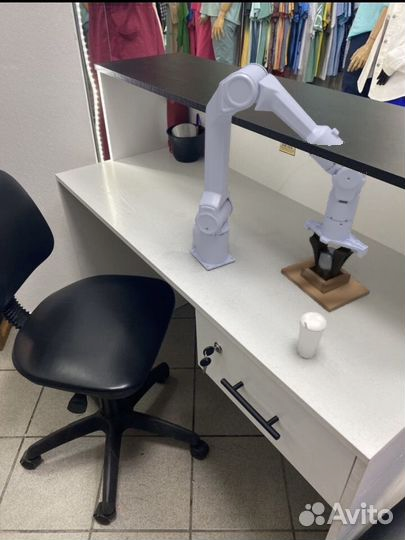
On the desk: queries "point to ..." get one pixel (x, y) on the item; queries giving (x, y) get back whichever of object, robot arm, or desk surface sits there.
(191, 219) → the desk surface
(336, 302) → the socket board
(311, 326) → the milkshake
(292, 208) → the desk surface
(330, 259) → the pin
